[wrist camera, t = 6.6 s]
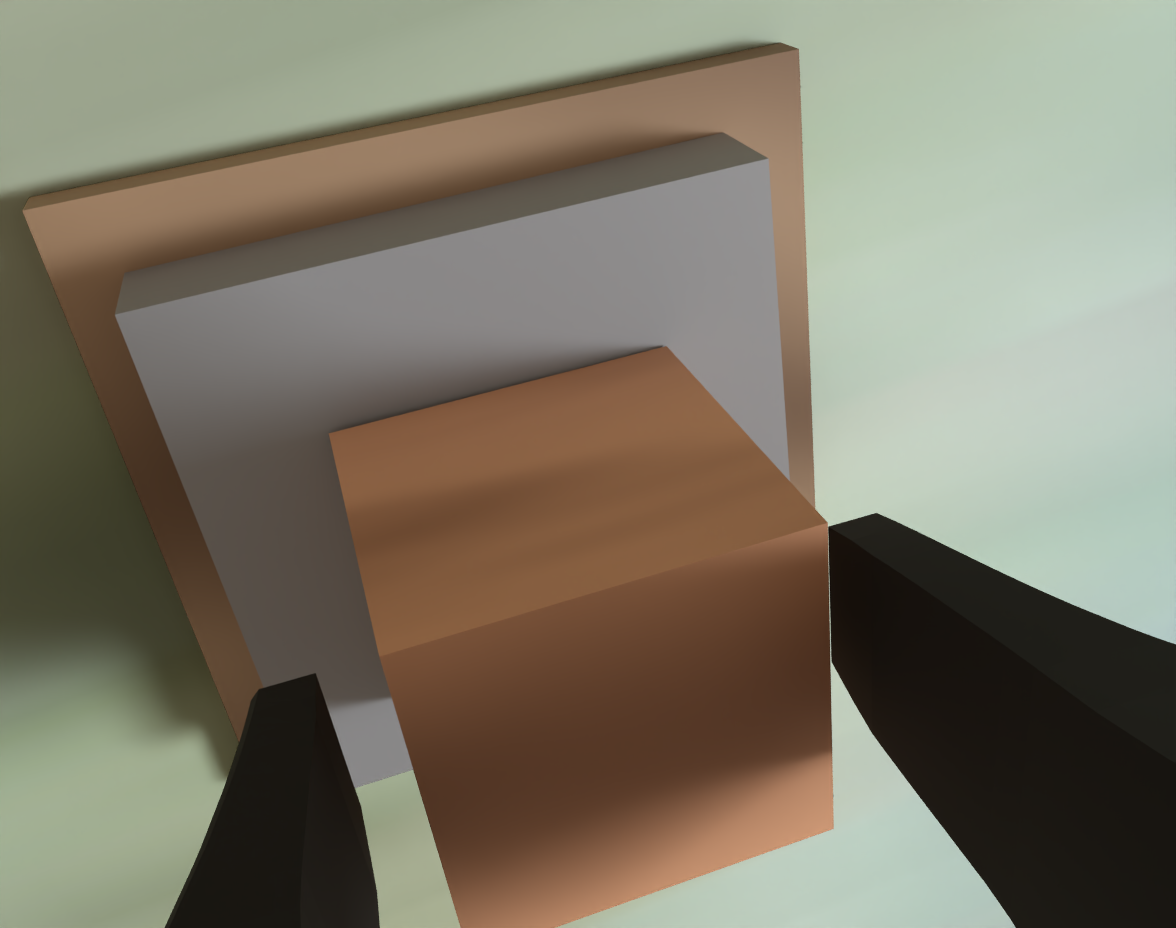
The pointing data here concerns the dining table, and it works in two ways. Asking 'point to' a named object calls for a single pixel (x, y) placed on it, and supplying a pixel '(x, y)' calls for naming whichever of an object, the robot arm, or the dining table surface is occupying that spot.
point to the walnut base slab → (382, 183)
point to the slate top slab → (433, 366)
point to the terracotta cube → (594, 635)
